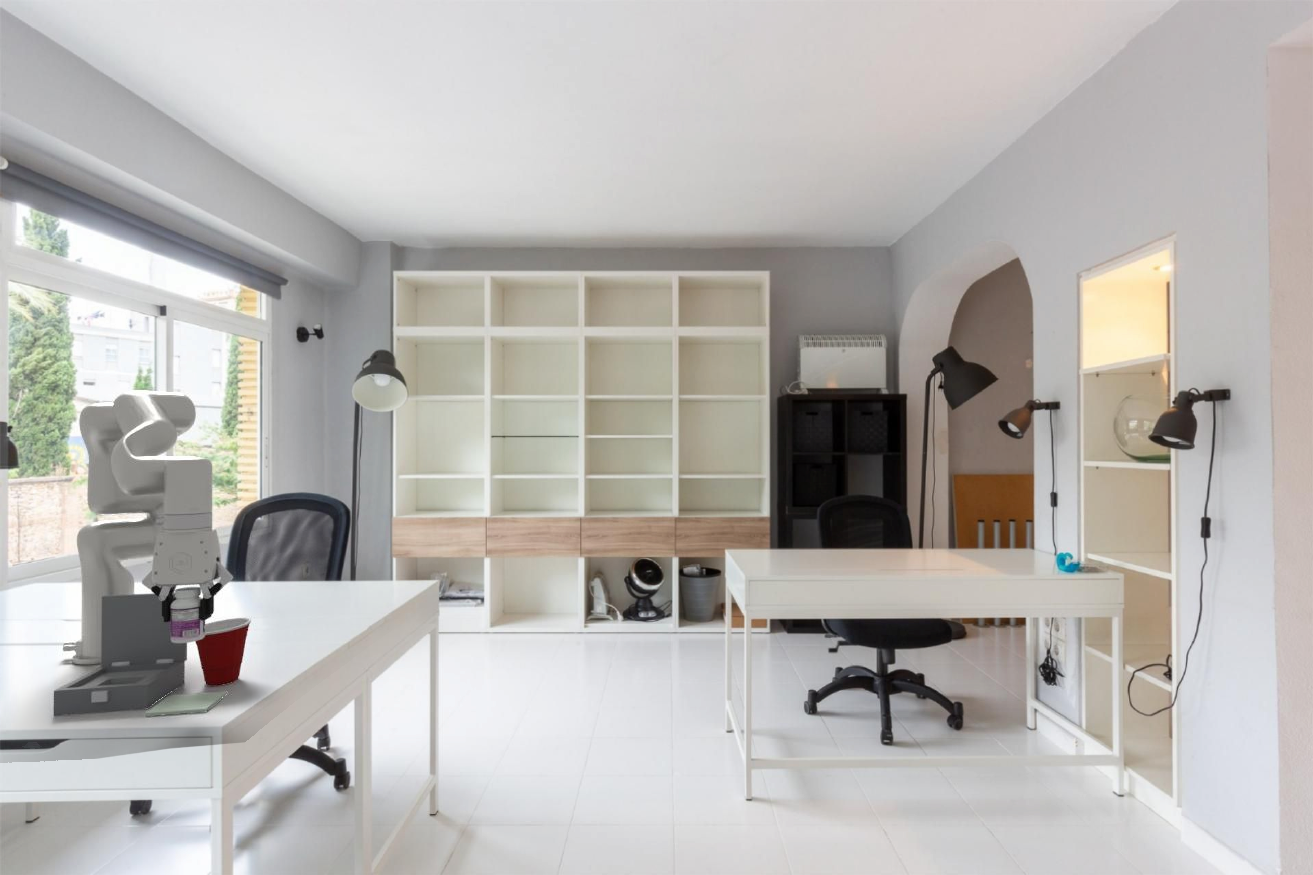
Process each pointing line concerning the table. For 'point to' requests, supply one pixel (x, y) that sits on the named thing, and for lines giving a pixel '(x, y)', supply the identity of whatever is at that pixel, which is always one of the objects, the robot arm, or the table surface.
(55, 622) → the table surface
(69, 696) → the equipment case
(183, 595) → the pill bottle
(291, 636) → the table surface
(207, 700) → the sage mat
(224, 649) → the plastic cup
